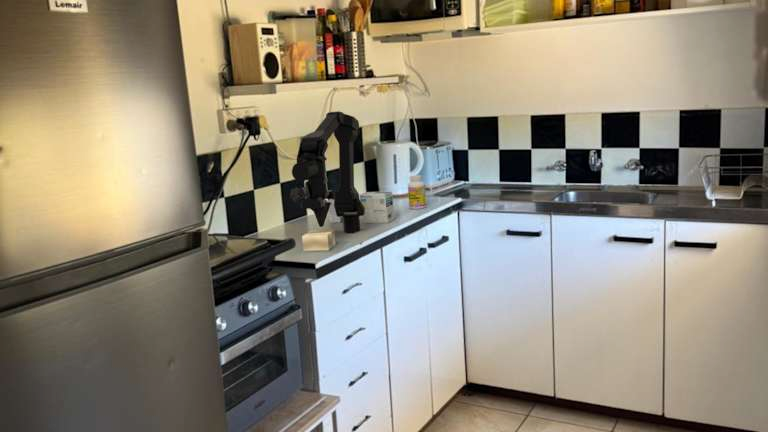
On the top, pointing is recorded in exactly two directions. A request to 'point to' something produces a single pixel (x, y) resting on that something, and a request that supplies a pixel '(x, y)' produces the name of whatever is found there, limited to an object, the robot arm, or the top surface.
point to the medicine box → (333, 214)
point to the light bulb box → (377, 207)
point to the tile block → (319, 241)
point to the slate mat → (334, 250)
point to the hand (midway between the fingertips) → (321, 226)
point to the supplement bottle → (416, 193)
